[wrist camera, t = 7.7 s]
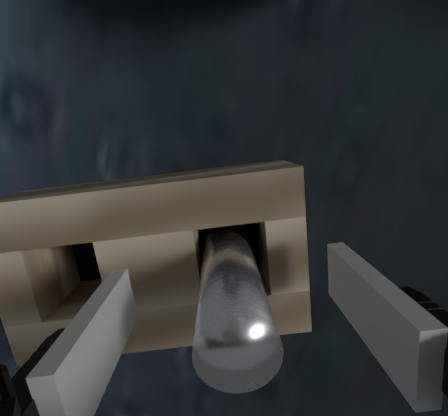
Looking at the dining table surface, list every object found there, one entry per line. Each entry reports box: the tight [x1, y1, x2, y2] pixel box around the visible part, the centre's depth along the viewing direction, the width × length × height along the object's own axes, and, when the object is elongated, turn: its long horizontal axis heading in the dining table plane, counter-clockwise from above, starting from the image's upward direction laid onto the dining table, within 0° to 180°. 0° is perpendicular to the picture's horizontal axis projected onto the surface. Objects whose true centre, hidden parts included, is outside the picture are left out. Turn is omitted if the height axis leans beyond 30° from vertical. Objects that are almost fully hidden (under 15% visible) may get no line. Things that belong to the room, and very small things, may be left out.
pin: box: [192, 224, 283, 393], centre depth 15 cm, size 3×3×12 cm
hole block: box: [0, 160, 312, 366], centre depth 19 cm, size 10×18×5 cm, turn 97°
